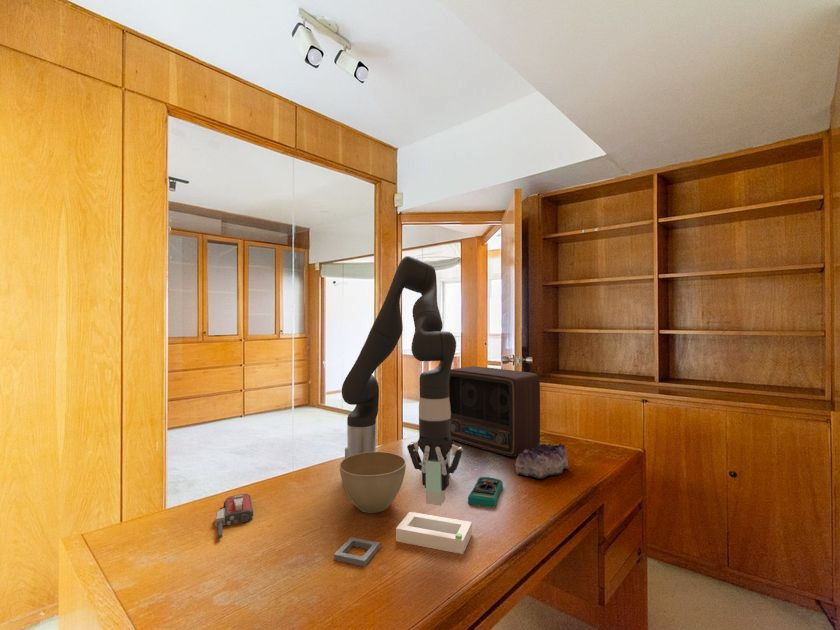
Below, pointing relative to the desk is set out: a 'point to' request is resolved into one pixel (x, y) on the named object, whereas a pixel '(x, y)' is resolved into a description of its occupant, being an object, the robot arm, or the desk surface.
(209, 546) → the desk surface
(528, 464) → the geode
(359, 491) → the flower pot
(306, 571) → the desk surface
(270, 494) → the desk surface
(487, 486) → the digital multimeter
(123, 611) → the desk surface
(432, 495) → the plug
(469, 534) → the port panel
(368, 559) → the grey square ring
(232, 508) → the walkie-talkie
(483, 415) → the radio
